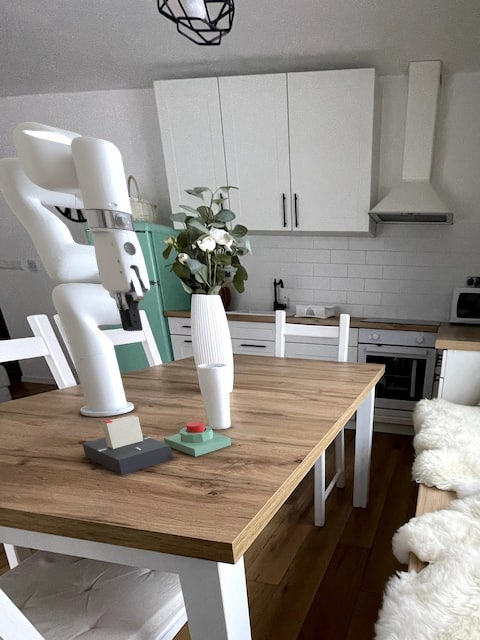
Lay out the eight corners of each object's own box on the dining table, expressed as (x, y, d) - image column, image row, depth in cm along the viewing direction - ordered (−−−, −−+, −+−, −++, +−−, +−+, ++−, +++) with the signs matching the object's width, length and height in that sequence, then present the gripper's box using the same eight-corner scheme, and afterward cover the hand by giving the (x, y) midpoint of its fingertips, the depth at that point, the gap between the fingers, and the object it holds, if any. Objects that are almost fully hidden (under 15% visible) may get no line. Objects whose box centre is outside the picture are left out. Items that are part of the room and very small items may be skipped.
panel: (85, 457, 79) (81, 442, 77) (136, 443, 86) (133, 430, 85) (121, 475, 72) (117, 459, 70) (173, 458, 79) (170, 444, 78)
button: (183, 432, 85) (182, 424, 84) (198, 428, 88) (197, 420, 87) (194, 435, 83) (192, 427, 82) (208, 431, 86) (207, 423, 85)
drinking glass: (225, 432, 95) (217, 368, 89) (199, 429, 96) (190, 367, 90) (238, 424, 101) (232, 364, 95) (214, 422, 102) (206, 362, 96)
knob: (138, 438, 80) (132, 413, 78) (143, 440, 79) (138, 415, 77) (107, 446, 76) (100, 420, 74) (112, 449, 75) (106, 422, 73)
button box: (165, 445, 86) (162, 429, 85) (200, 434, 93) (198, 420, 91) (195, 456, 81) (192, 440, 79) (231, 444, 87) (229, 429, 86)
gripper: (153, 225, 72) (171, 332, 80) (112, 230, 79) (132, 327, 87) (110, 219, 66) (134, 334, 74) (70, 224, 74) (96, 329, 82)
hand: (133, 330), depth 81 cm, fingers closed
